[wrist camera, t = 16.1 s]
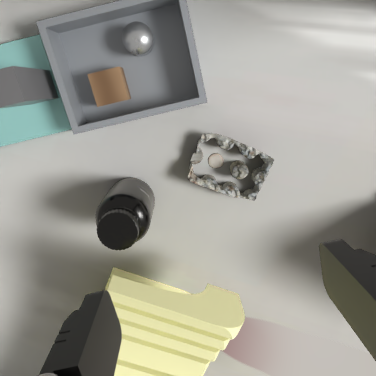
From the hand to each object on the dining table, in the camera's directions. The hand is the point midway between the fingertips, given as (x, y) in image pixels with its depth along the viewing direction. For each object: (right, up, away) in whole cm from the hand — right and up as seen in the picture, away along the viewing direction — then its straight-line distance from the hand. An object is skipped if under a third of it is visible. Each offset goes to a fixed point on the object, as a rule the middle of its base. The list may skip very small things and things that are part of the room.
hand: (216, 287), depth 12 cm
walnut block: (-11, +17, +32) cm, 38 cm away
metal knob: (-7, +22, +30) cm, 38 cm away
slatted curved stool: (-8, -17, +43) cm, 47 cm away
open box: (-9, +20, +31) cm, 38 cm away
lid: (-26, +16, +32) cm, 44 cm away
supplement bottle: (-9, +2, +37) cm, 38 cm away
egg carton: (+5, +7, +36) cm, 37 cm away
